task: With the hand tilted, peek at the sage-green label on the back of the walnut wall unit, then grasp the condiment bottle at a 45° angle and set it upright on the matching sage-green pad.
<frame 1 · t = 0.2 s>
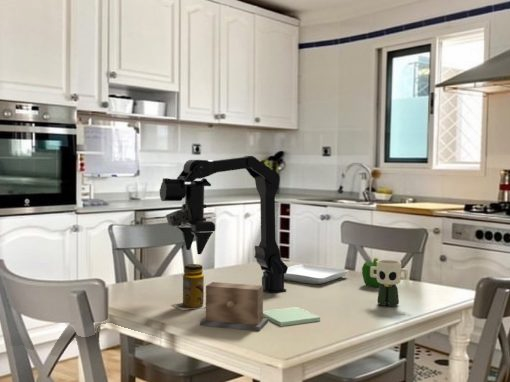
hand: (193, 252, 174), 15 cm above the table, fingers open, 9 cm apart
salad plate: (310, 279, 209), on the table
bell pepper: (373, 286, 197), on the table
sage pad: (289, 317, 155), on the table
walnut unit: (234, 323, 149), on the table
condiment: (190, 307, 167), on the table
character mug: (388, 305, 171), on the table
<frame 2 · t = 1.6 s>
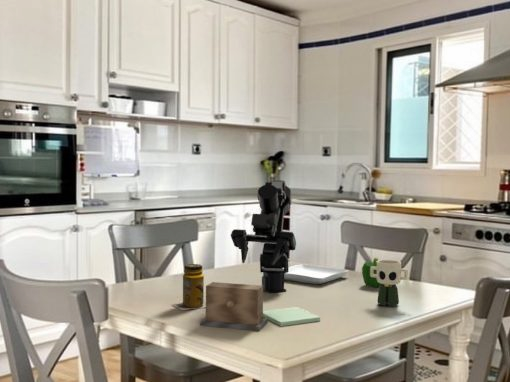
hand: (257, 263, 163), 13 cm above the table, fingers open, 8 cm apart
nothing on the table moved.
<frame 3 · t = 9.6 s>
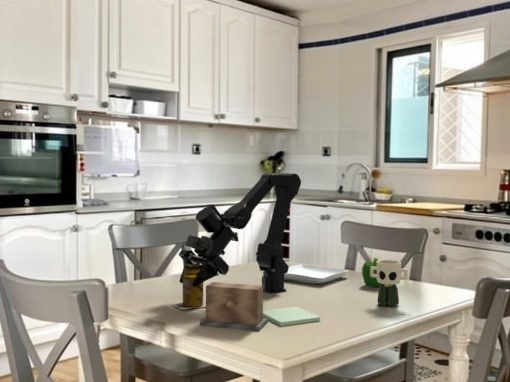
hand: (186, 284, 165), 7 cm above the table, fingers closed on condiment, 6 cm apart
condiment: (190, 306, 167), on the table, touching gripper
everything else where it was.
when the fingers open (9 cm above the table, at t = 17.0 s): condiment drops 1 cm, resting on sage pad.
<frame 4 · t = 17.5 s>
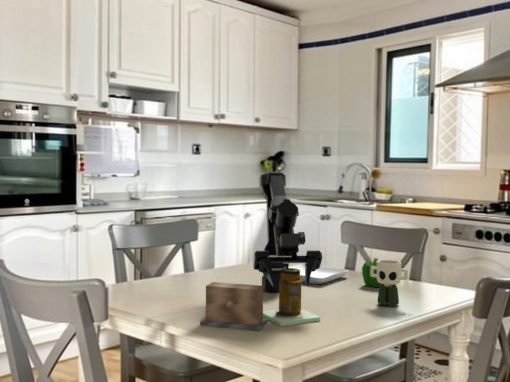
hand: (290, 285, 153), 9 cm above the table, fingers open, 9 cm apart
condiment: (289, 314, 155), point 1 cm above the table, touching sage pad
everything else where it was.
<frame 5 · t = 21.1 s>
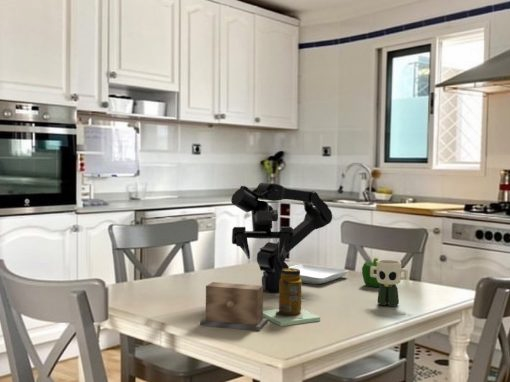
hand: (264, 257, 171), 14 cm above the table, fingers open, 9 cm apart
nothing on the table moved.
at the end: condiment inside the target area on the sage pad (0.2 cm from its centre), point 0.8 cm above the sage pad's base; condiment tilted 0°; the gripper is holding nothing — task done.
